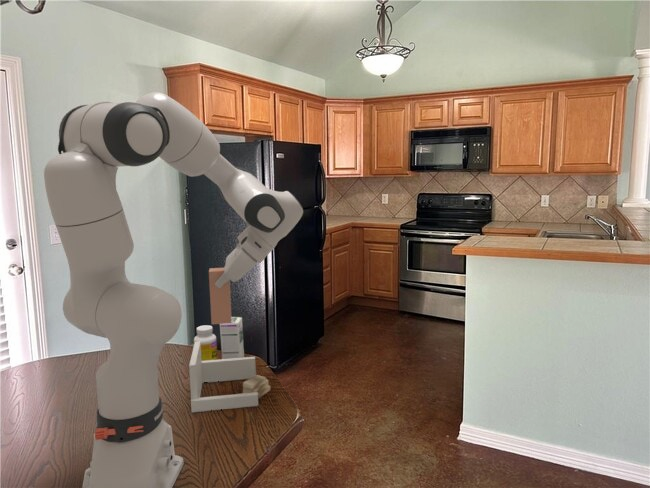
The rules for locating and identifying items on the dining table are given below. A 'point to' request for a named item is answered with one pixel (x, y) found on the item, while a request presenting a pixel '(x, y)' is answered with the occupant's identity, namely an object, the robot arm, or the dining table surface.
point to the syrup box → (232, 339)
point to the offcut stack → (256, 385)
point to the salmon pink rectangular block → (219, 298)
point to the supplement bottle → (207, 342)
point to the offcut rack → (219, 372)
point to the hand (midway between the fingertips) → (217, 283)
